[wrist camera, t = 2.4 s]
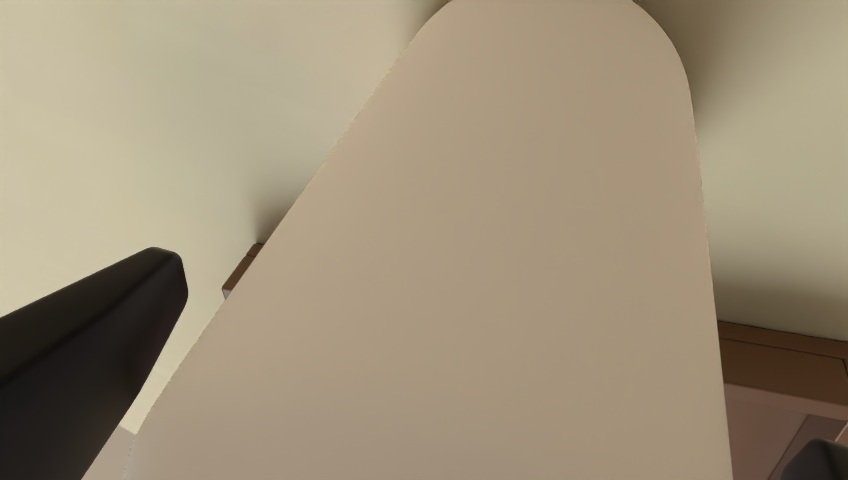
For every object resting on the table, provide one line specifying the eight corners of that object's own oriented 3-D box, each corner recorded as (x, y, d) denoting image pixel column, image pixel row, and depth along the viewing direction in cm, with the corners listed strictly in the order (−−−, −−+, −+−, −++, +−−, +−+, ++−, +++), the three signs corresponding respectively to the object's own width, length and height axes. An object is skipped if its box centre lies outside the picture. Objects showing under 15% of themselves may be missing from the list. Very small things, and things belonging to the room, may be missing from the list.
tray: (864, 344, 16) (887, 412, 14) (707, 588, 26) (710, 645, 24) (254, 242, 20) (220, 287, 18) (319, 488, 29) (300, 531, 28)
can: (469, -98, 12) (-47, 456, 3) (763, 59, 12) (1053, 956, 3) (367, 152, 16) (34, 677, 7) (586, 262, 17) (514, 887, 8)
